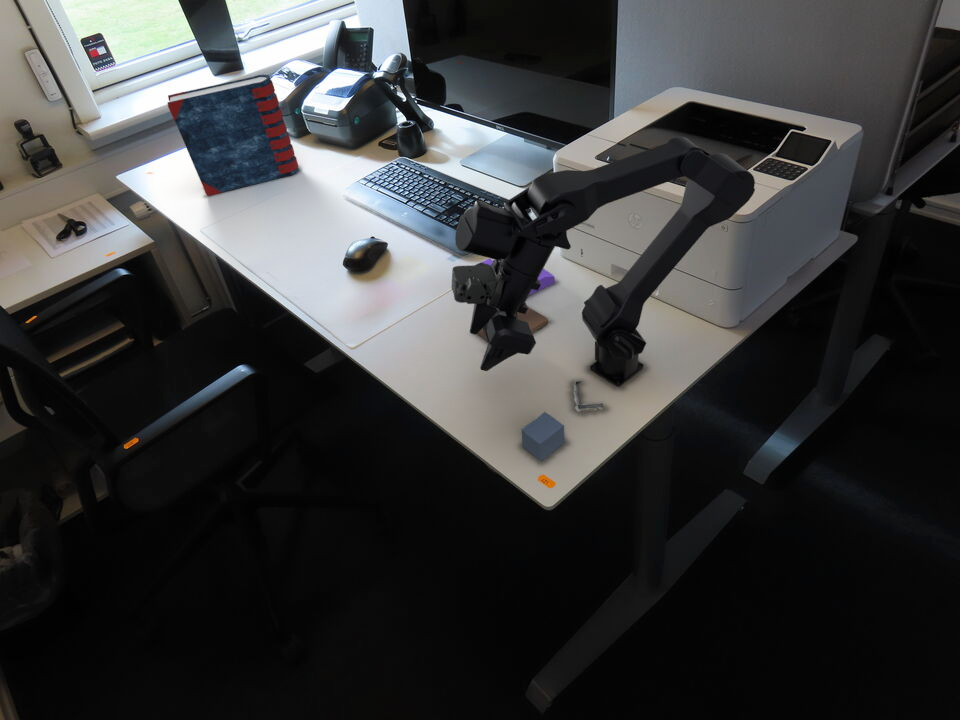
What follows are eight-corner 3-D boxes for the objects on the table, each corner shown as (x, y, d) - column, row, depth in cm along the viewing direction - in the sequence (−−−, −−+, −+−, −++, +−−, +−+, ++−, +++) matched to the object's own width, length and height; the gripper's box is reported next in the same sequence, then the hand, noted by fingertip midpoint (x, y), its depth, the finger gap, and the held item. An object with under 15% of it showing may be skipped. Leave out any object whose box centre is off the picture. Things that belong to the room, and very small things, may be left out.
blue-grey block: (564, 442, 101) (564, 425, 98) (541, 461, 99) (539, 444, 96) (546, 429, 104) (544, 411, 101) (522, 447, 101) (520, 429, 99)
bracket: (504, 307, 127) (501, 278, 123) (484, 291, 132) (480, 262, 127) (554, 282, 131) (553, 253, 127) (533, 267, 136) (531, 238, 131)
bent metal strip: (611, 397, 105) (590, 413, 103) (611, 403, 106) (590, 419, 104) (577, 376, 110) (556, 391, 108) (577, 382, 111) (556, 397, 108)
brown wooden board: (548, 322, 122) (548, 318, 122) (504, 352, 118) (503, 348, 117) (518, 304, 127) (518, 300, 127) (474, 333, 123) (474, 328, 122)
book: (298, 163, 185) (269, 71, 168) (301, 174, 180) (271, 80, 163) (206, 186, 181) (167, 94, 164) (206, 197, 176) (166, 103, 159)
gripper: (459, 217, 97) (421, 304, 105) (481, 284, 83) (436, 379, 91) (526, 239, 101) (484, 321, 109) (559, 306, 87) (508, 395, 95)
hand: (477, 351), depth 101 cm, fingers open, 9 cm apart
